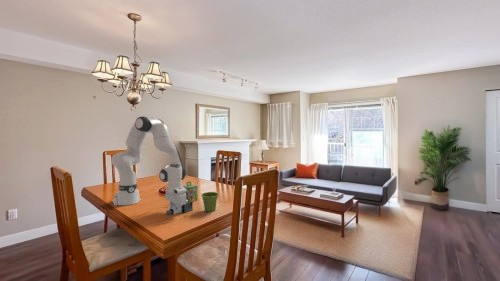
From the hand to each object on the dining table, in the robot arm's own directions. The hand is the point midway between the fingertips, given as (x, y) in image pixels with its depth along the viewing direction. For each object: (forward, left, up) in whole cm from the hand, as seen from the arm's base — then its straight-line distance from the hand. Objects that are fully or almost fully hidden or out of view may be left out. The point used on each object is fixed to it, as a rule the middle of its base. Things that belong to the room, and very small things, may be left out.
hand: (175, 208), depth 156 cm
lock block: (0, 0, -2) cm, 2 cm away
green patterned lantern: (-16, +22, -3) cm, 27 cm away
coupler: (0, +2, -2) cm, 3 cm away
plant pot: (+14, +18, -3) cm, 23 cm away
